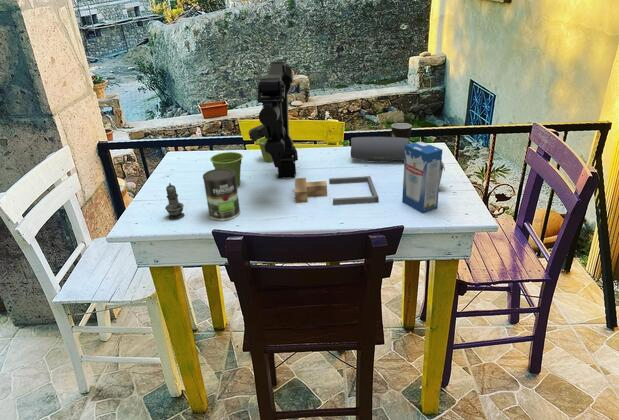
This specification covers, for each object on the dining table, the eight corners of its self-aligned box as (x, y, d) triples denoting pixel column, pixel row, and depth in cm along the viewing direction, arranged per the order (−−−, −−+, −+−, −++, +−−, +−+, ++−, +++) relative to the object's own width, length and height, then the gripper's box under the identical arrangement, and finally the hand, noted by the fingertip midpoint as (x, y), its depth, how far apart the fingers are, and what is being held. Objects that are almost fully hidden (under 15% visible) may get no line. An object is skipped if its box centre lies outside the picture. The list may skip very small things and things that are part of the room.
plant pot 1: (252, 184, 170) (249, 155, 165) (227, 194, 163) (223, 165, 158) (233, 176, 178) (229, 149, 173) (208, 186, 170) (203, 158, 165)
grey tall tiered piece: (169, 212, 152) (162, 179, 147) (186, 211, 152) (180, 178, 147) (165, 221, 147) (158, 187, 141) (184, 219, 147) (177, 185, 142)
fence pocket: (333, 204, 152) (333, 200, 151) (329, 182, 168) (329, 178, 167) (378, 202, 152) (378, 197, 151) (370, 180, 168) (370, 176, 167)
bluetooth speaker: (407, 157, 188) (408, 133, 183) (407, 165, 180) (409, 141, 175) (352, 156, 192) (352, 133, 187) (350, 164, 184) (350, 140, 179)
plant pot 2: (257, 157, 195) (255, 138, 191) (278, 154, 198) (277, 135, 194) (261, 165, 187) (259, 145, 183) (283, 161, 190) (282, 141, 186)
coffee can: (244, 216, 147) (239, 176, 141) (213, 223, 144) (206, 183, 137) (235, 204, 156) (230, 165, 149) (206, 210, 152) (199, 171, 146)
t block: (295, 202, 154) (295, 192, 153) (295, 188, 165) (294, 178, 163) (328, 200, 154) (327, 190, 153) (325, 186, 165) (325, 176, 163)
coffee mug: (410, 151, 193) (411, 128, 189) (390, 151, 195) (390, 128, 191) (410, 142, 203) (412, 121, 199) (391, 142, 205) (392, 120, 201)
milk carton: (402, 202, 151) (405, 144, 142) (416, 197, 154) (420, 141, 145) (422, 213, 143) (427, 153, 134) (437, 208, 146) (442, 149, 137)
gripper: (251, 111, 155) (255, 154, 162) (246, 127, 138) (251, 174, 146) (283, 109, 155) (286, 152, 162) (282, 125, 139) (286, 172, 146)
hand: (277, 162), depth 154 cm, fingers open, 9 cm apart
